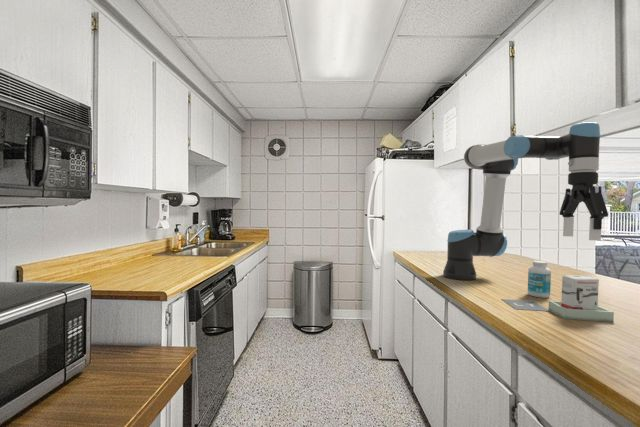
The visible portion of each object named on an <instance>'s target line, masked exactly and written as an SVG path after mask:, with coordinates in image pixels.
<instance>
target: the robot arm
mask: <svg viewBox="0 0 640 427" xmlns="http://www.w3.org/2000/svg"><path fill="white" fill-rule="evenodd" d="M600 140H601V128H600V124H599V123H597V122H593V121H592V122H591V121H589V122H581V123H580V122H579V123H575V124H572V125H571V126H570V128H569V132H568V133H567V134H564V135H561V136H559V135H558V136H557V135H556V136H553V135H551V136H550V135H548V136H547V135H545V136H544V135H537V136H536V135H523V134H521V135H511V136H508V138H507V139H506V140H502V141H498V142H493V143H489V144H474V145H471V146H469V147H468V148H466V150H465V152H464V154H463V159H464V160H463V161H464V163H465V164H466V166H468V167H469V168H471V169H474V170H482V175H483V176H484V177H485V182H484V191H483V199H482V206H481V207H482V208H481V217H480V223H479V224H480V225H479V226H477V227H476V230H475V232H474V230H473V229H457V230H452V231H449V232H448V234H447V241H446V242H447V258H446V263H445V266H444V268H443V271H442V272H443V274H442V276H443V277H444V278H447V279H452V280H460V281H473V280H476V279H477V272H476V269H475V265H474V257H491V258H493V257H500V256H502V255H503V254H504V253H505V252H506V249H507V247H508V238H507V236H506V235H505V233H504V230H503V229H502V228H501V222H502V214H503V206H504V198H505V192H506V191H505V190H506V182H507V178H508V177H509V176H511V174H512V172H511V171H514V170H515V169H516V168H517V166H518V164H519V159H525V158H526V159H527V158H528V159H531V158H533V159H546V160H547V161H551V160H552V161H553V160H555V161H556V160H559V159H565V158H568V163H567V164H568V172H569V173H568V174H567V185H569V186H572V188H571V187H570V188H569V187H567V188H565V194H564V198H563V201H562V203H561V207H560V210H559V216H562V218H563V226H562V228H563V229H562V230H563V231H562V236H563V237H572V238H573V237H574V224H575V223H574V222H575V220H574V219H575V218H574V217H575V215H574V213H575V212H576V210H577V208H578V207H579V205H580V203H582V202H583V203H584V204H585V207H586V209H587V210H588V213H589V215H590V217H589V226H588V227H589V228H588V229H589V230H588V231H589V233H588V240H589V241H600V242H601V241H602V224H603V223H602V222H603V221H602V220H603V219H604V218H607V217H609V213H608V209H607V206H606V203H605V200H604V196H603V193H602V192H603V191H602V186H601V185H598V183H599V173H598V171H599V169H600V143H601V142H600Z"/></svg>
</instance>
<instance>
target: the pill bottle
mask: <svg viewBox="0 0 640 427" xmlns="http://www.w3.org/2000/svg"><path fill="white" fill-rule="evenodd" d="M547 266H548V262H547V261H542V260H532V266H530V267H529V268H528V272H527V295H529V296H531V297H535V298H542V299H547V298H550V297H551V285H552V284H551V283H552V282H551V281H552V270H551V269H550V268H549V267H547Z"/></svg>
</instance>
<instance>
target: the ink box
mask: <svg viewBox="0 0 640 427" xmlns="http://www.w3.org/2000/svg"><path fill="white" fill-rule="evenodd" d="M561 279H562V280H561V283H562V284H561V306H562V307H564V308H566V309H581V310H597V311H598V306H599V286H600V285H599V281H600V280H599V279H598V278H595V277H591V276H588V275H576V274H575V275H573V274H572V275H570V274H569V275H568V274H567V275H566V274H565V275H562V278H561Z"/></svg>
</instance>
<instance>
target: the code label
mask: <svg viewBox="0 0 640 427" xmlns="http://www.w3.org/2000/svg"><path fill="white" fill-rule="evenodd" d="M501 301H503V302H504V303H506V304H507V305H509V307H511V308H513V309H515V310H519V309H520V310H522V311H540V312H551V311H550V310H549V308H546V307H544V306H543V305H541V304H540V303H537V302H536V301H534V300H521V299H520V300H519V299H506V298H504V299H501Z"/></svg>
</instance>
